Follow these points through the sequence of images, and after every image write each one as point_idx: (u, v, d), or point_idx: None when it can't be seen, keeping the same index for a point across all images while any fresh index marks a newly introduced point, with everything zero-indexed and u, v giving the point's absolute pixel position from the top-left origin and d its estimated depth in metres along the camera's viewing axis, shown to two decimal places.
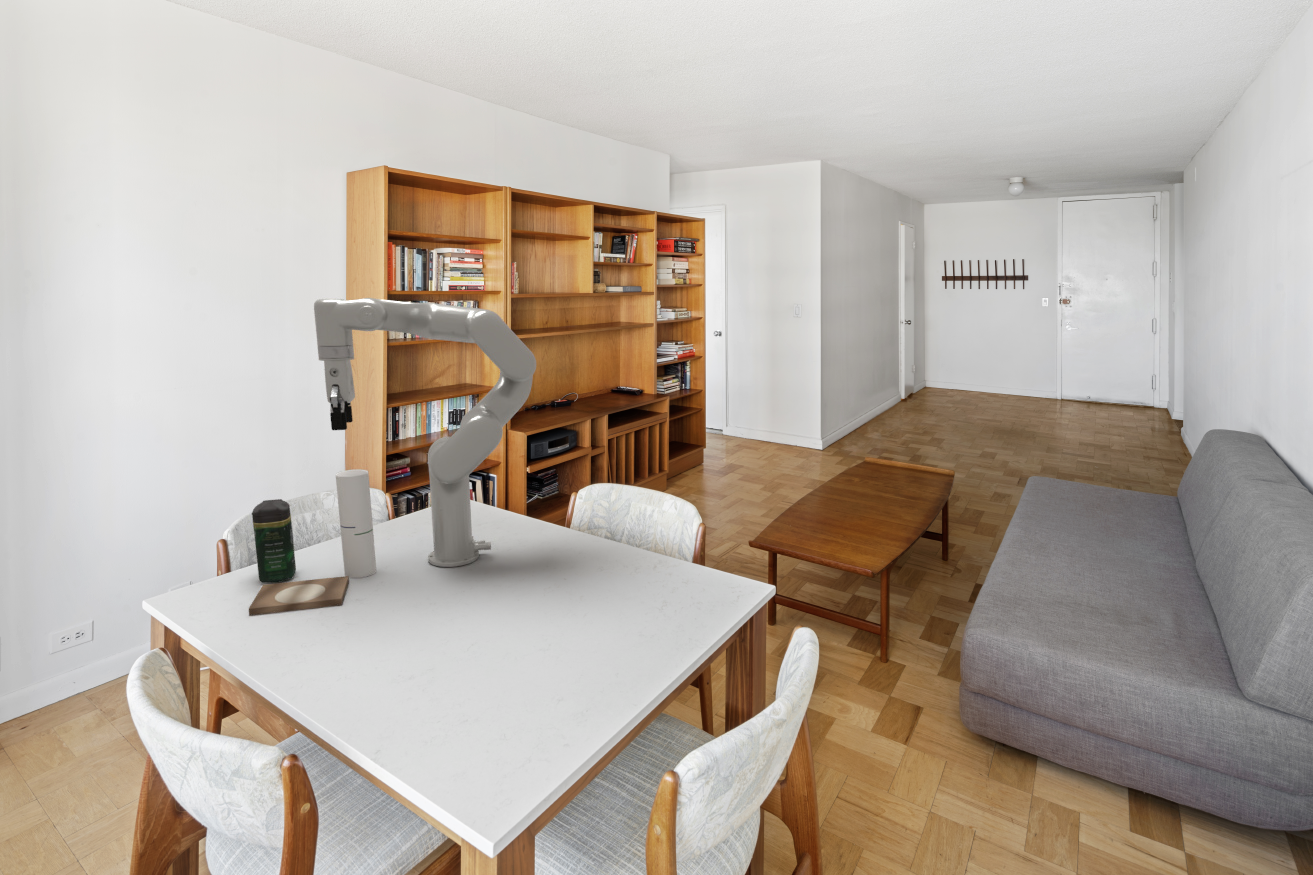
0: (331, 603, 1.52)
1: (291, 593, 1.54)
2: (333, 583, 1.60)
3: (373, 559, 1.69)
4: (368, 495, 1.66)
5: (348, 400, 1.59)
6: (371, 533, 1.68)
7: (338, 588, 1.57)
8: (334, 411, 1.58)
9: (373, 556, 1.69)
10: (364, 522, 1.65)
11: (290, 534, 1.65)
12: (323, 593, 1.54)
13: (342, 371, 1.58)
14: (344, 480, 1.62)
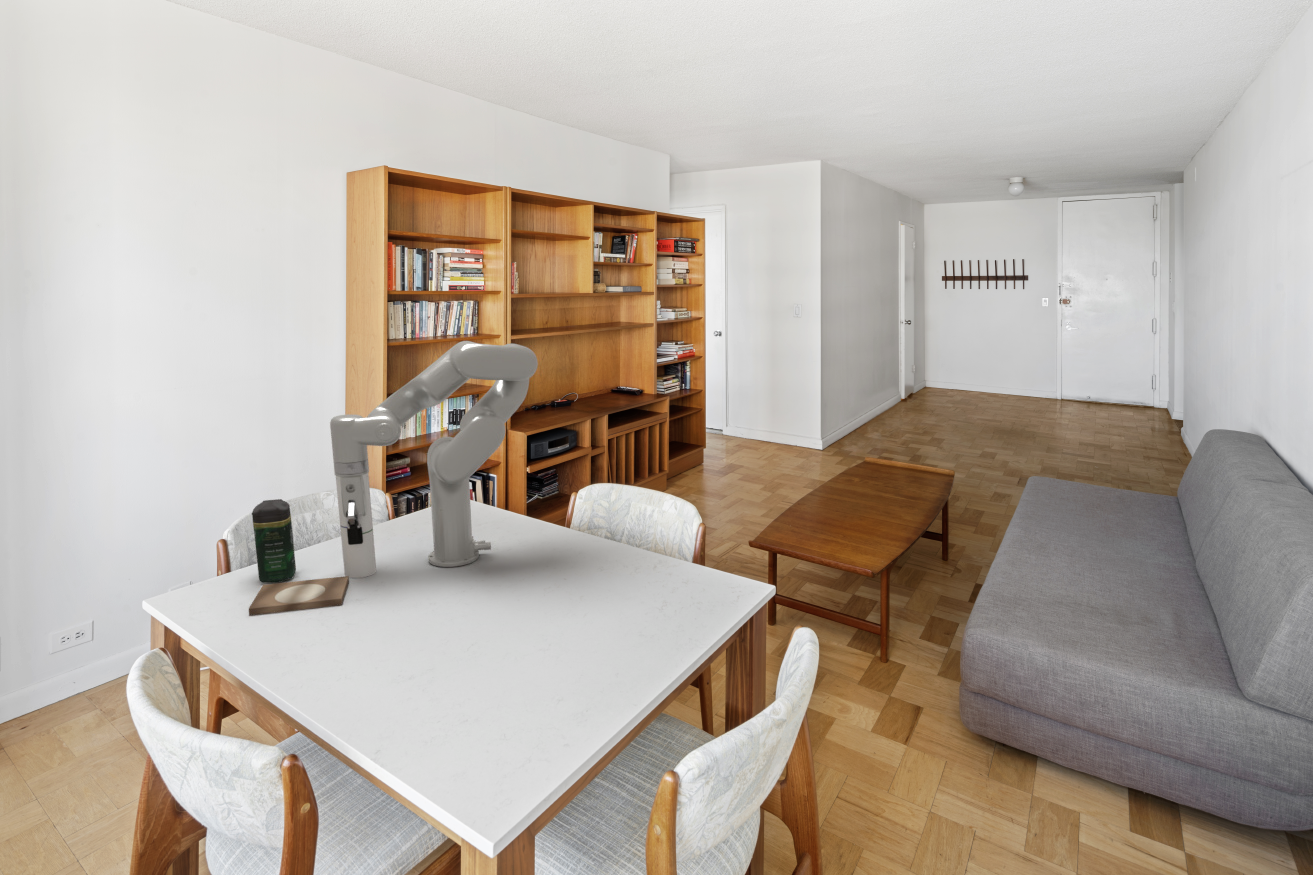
0: (331, 603, 1.52)
1: (291, 593, 1.54)
2: (333, 583, 1.60)
3: (373, 559, 1.69)
4: (368, 495, 1.66)
5: (364, 514, 1.63)
6: (371, 533, 1.68)
7: (338, 588, 1.57)
8: (351, 527, 1.62)
9: (373, 556, 1.69)
10: (364, 522, 1.65)
11: (290, 534, 1.65)
12: (323, 593, 1.54)
13: (358, 487, 1.62)
14: None
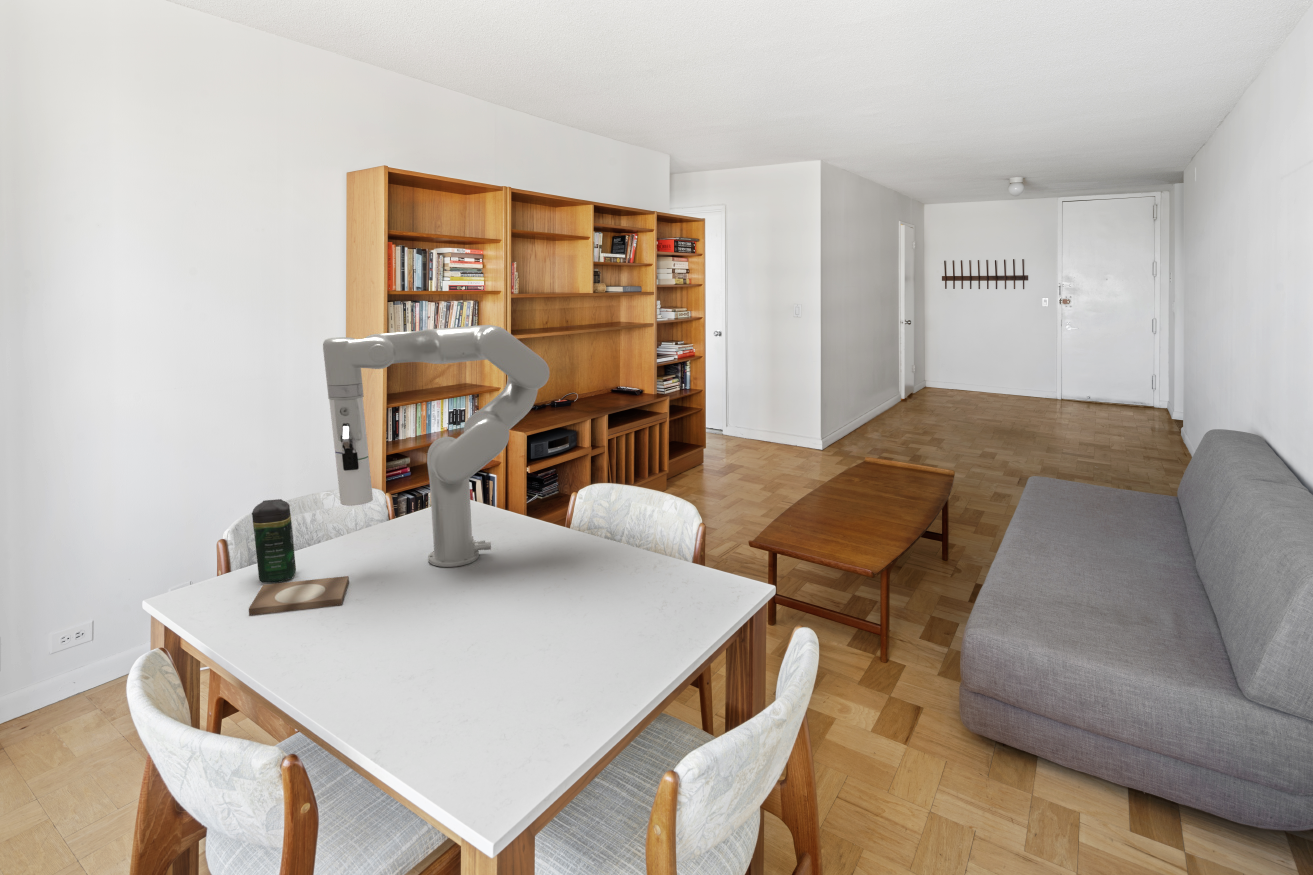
0: (331, 603, 1.52)
1: (291, 593, 1.54)
2: (333, 583, 1.60)
3: (369, 487, 1.66)
4: (363, 420, 1.63)
5: (359, 438, 1.60)
6: (367, 460, 1.64)
7: (338, 588, 1.57)
8: (346, 452, 1.59)
9: (369, 484, 1.66)
10: (359, 447, 1.62)
11: (290, 534, 1.65)
12: (323, 593, 1.54)
13: (352, 410, 1.58)
14: None
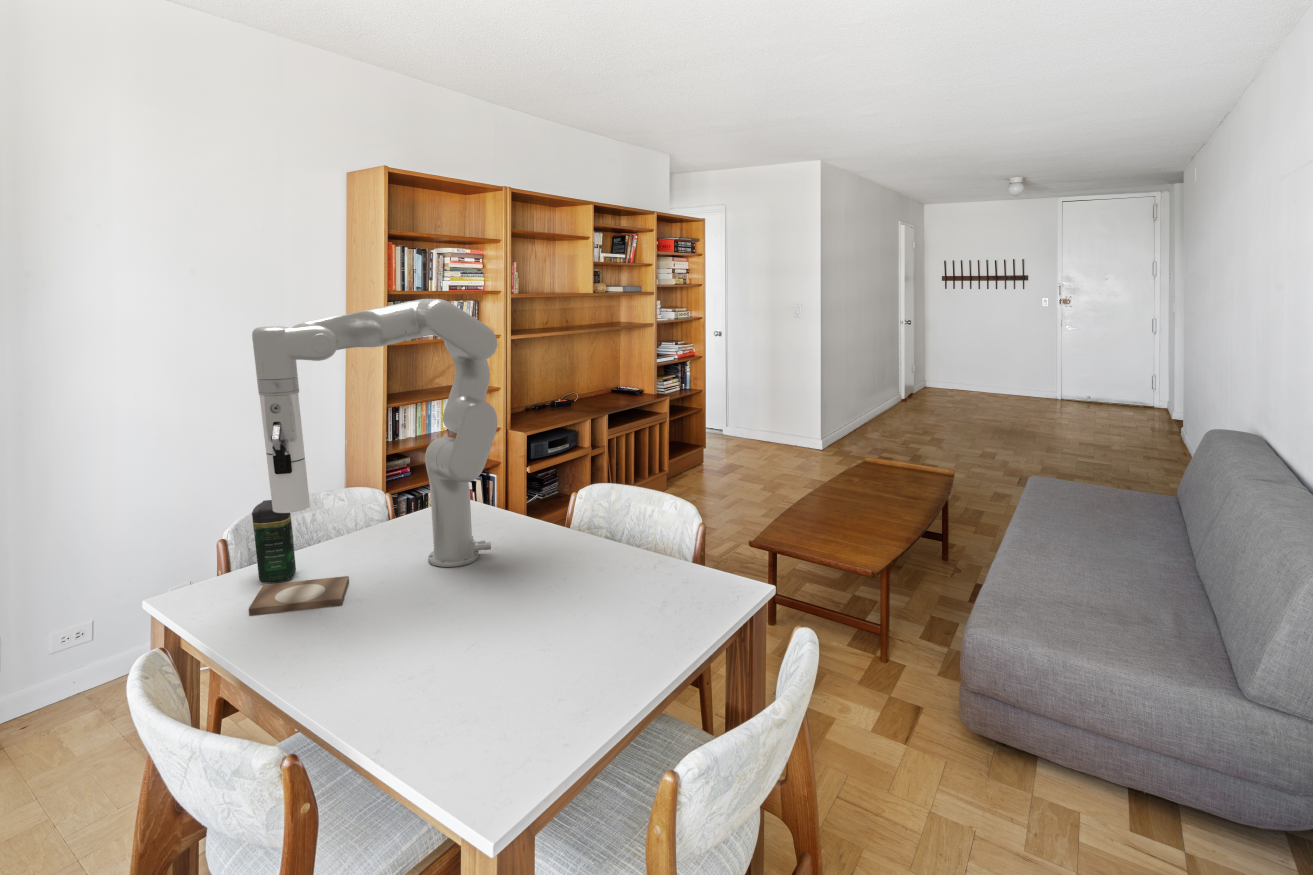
0: (331, 603, 1.52)
1: (291, 593, 1.54)
2: (333, 583, 1.60)
3: (305, 493, 1.50)
4: (298, 419, 1.46)
5: (292, 438, 1.44)
6: (302, 463, 1.48)
7: (338, 588, 1.57)
8: (277, 454, 1.43)
9: (305, 489, 1.50)
10: (293, 449, 1.46)
11: (290, 534, 1.65)
12: (323, 593, 1.54)
13: (284, 407, 1.42)
14: None
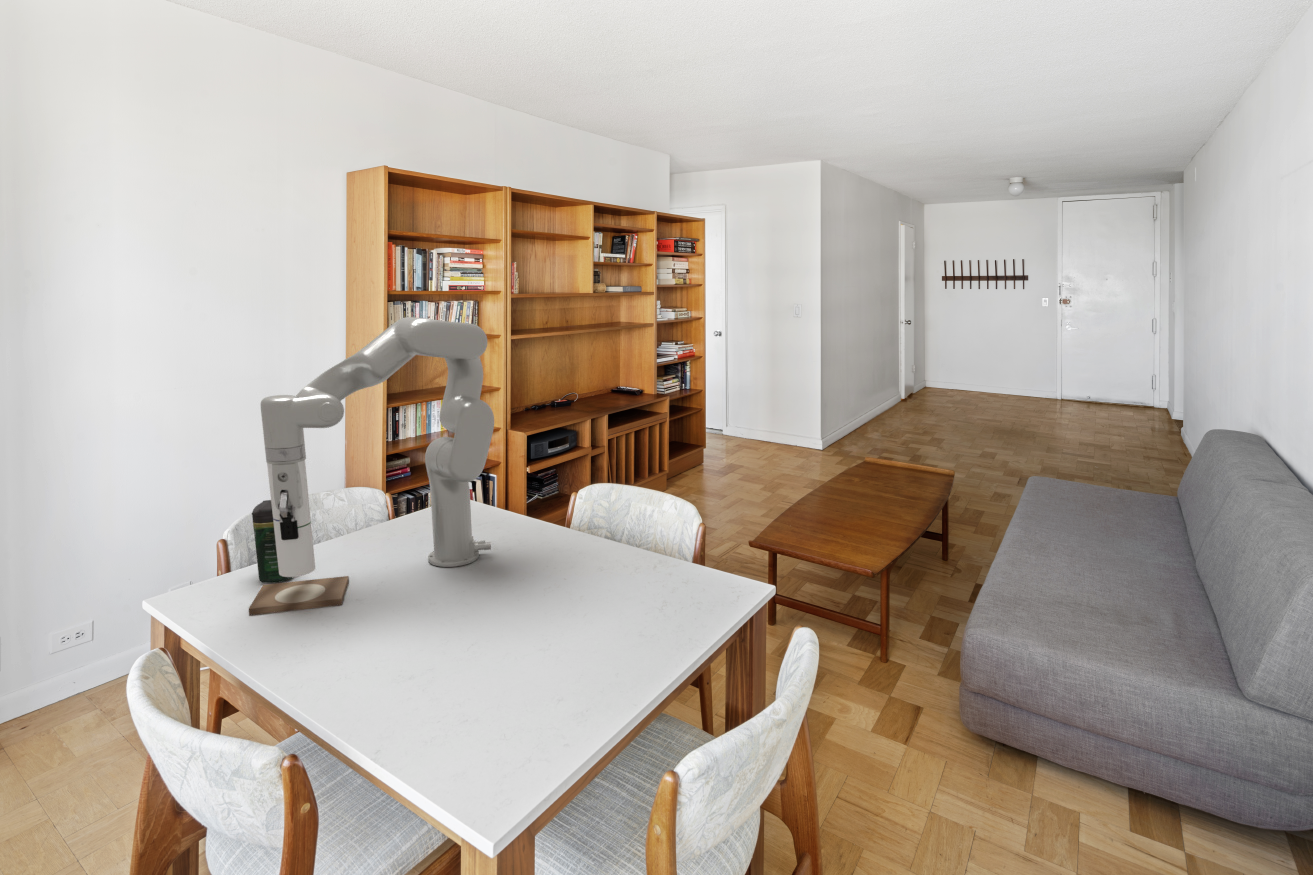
0: (331, 603, 1.52)
1: (291, 593, 1.54)
2: (333, 583, 1.60)
3: (311, 556, 1.52)
4: (304, 485, 1.49)
5: (299, 505, 1.47)
6: (308, 527, 1.51)
7: (338, 588, 1.57)
8: (284, 521, 1.46)
9: (311, 553, 1.52)
10: (299, 514, 1.49)
11: None
12: (323, 593, 1.54)
13: (291, 475, 1.45)
14: None
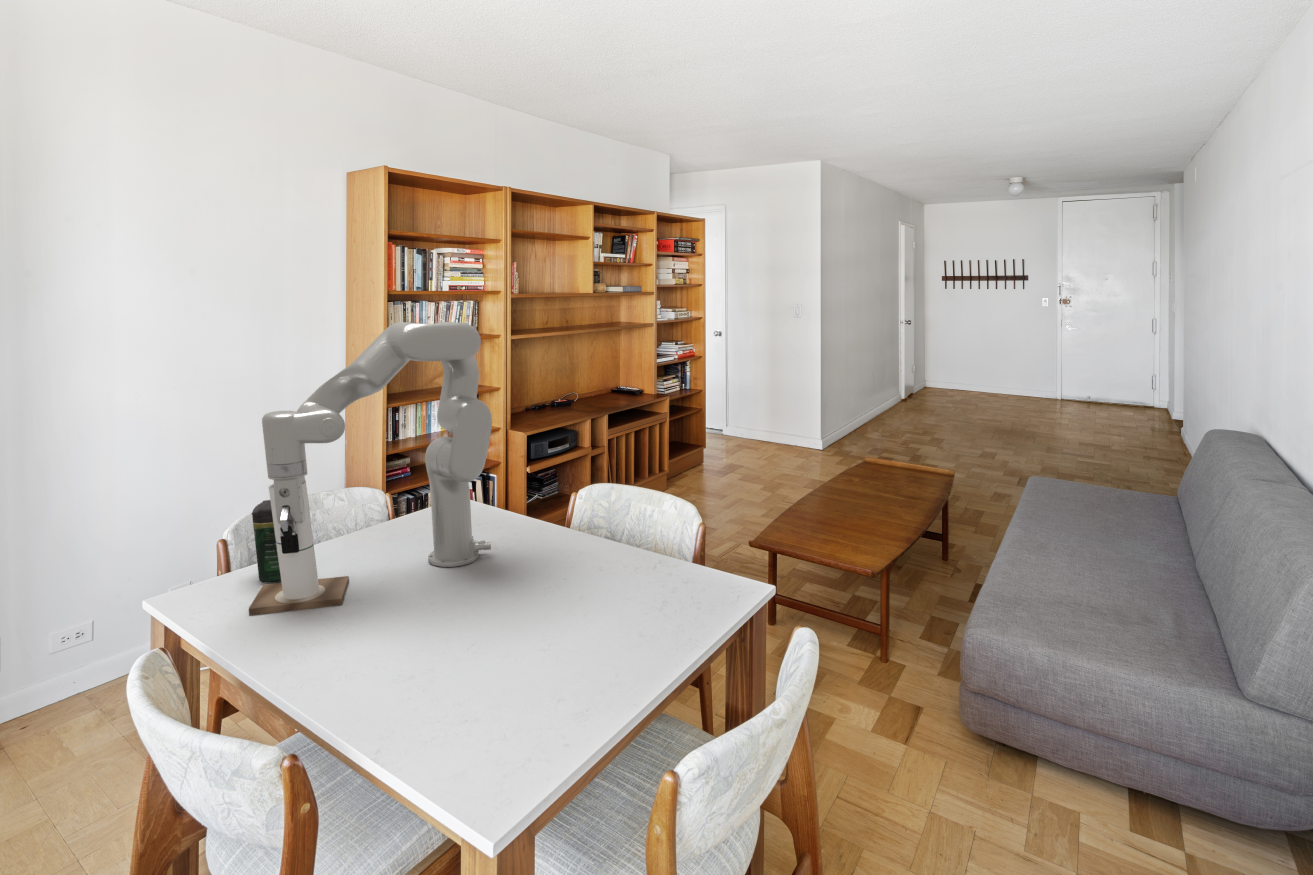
0: (331, 603, 1.52)
1: None
2: (333, 583, 1.60)
3: (314, 578, 1.54)
4: (306, 508, 1.50)
5: (301, 521, 1.47)
6: (311, 549, 1.52)
7: (338, 588, 1.57)
8: (284, 534, 1.45)
9: (314, 575, 1.54)
10: (302, 537, 1.50)
11: None
12: (323, 593, 1.54)
13: (293, 491, 1.46)
14: None
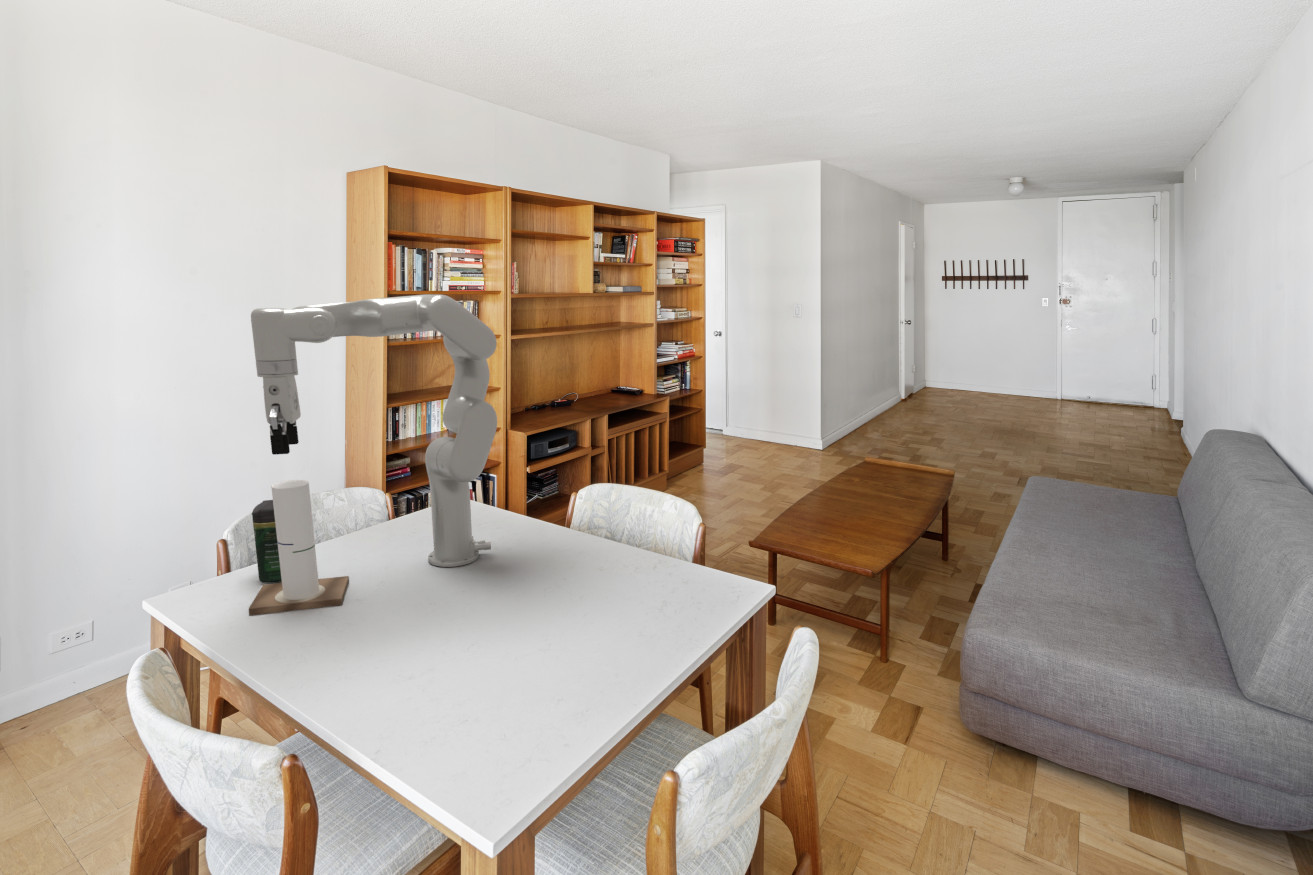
0: (331, 603, 1.52)
1: None
2: (333, 583, 1.60)
3: (315, 579, 1.54)
4: (308, 508, 1.51)
5: (291, 420, 1.43)
6: (312, 550, 1.52)
7: (338, 588, 1.57)
8: (274, 433, 1.41)
9: (315, 575, 1.54)
10: (303, 538, 1.50)
11: None
12: (323, 593, 1.54)
13: (283, 389, 1.41)
14: (280, 492, 1.46)
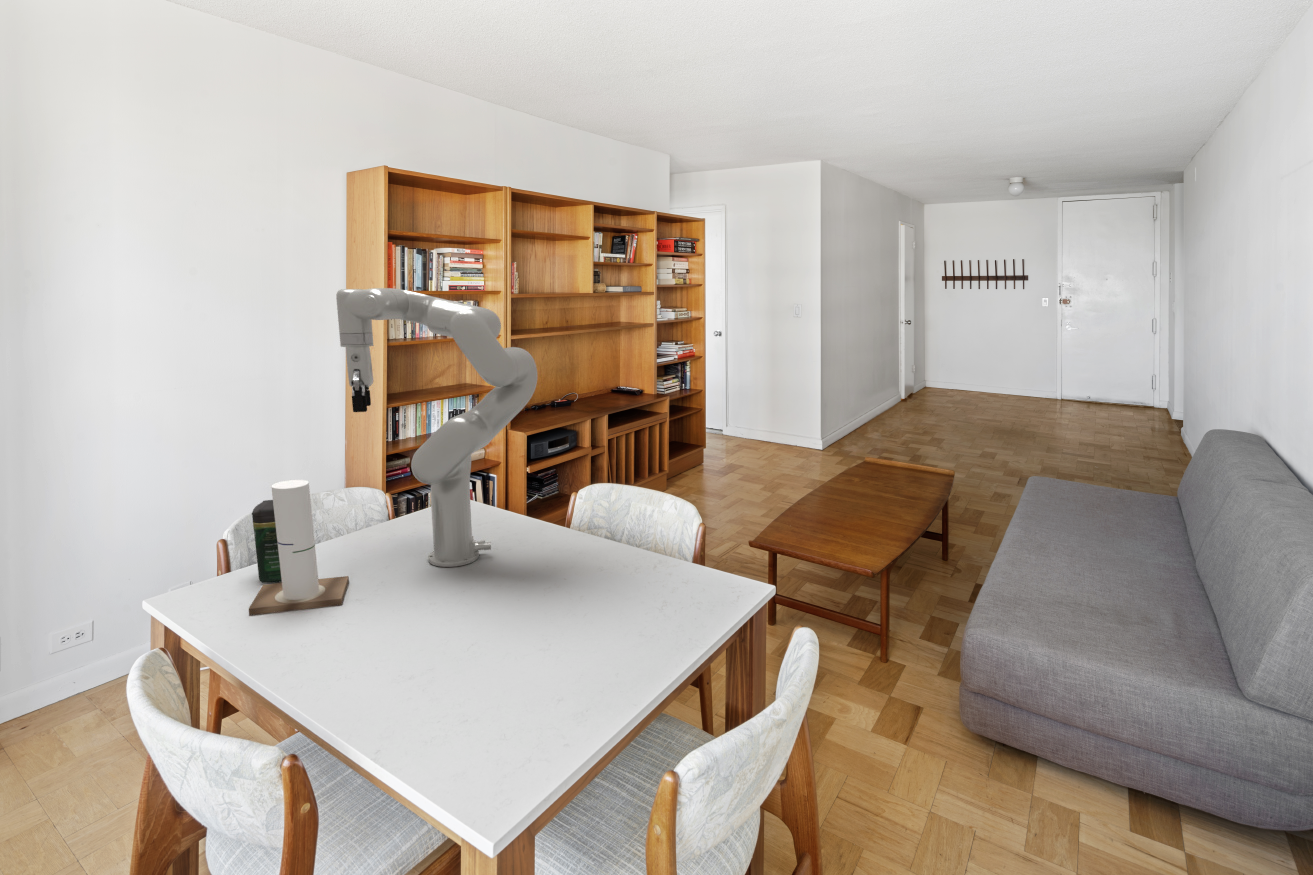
0: (331, 603, 1.52)
1: None
2: (333, 583, 1.60)
3: (315, 579, 1.54)
4: (308, 508, 1.50)
5: (369, 384, 1.70)
6: (312, 550, 1.52)
7: (338, 588, 1.57)
8: (355, 394, 1.68)
9: (315, 575, 1.54)
10: (303, 538, 1.50)
11: None
12: (323, 593, 1.54)
13: (363, 357, 1.69)
14: (280, 492, 1.46)
